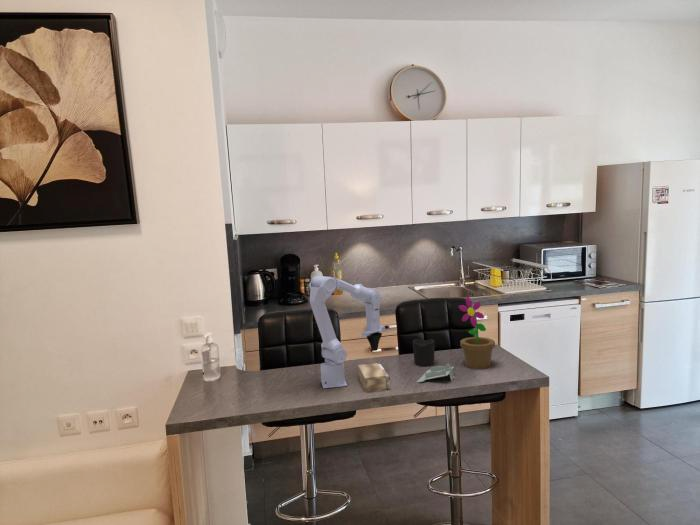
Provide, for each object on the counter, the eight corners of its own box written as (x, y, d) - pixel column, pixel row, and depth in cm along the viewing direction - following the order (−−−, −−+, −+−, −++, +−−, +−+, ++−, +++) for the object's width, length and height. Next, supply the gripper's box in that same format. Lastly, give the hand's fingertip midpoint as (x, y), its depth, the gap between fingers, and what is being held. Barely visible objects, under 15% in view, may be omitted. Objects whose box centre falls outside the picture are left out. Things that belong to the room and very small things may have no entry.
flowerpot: (454, 365, 207) (451, 296, 204) (473, 357, 217) (471, 291, 213) (483, 372, 196) (481, 300, 193) (502, 363, 206) (500, 294, 203)
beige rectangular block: (365, 392, 182) (365, 378, 182) (358, 378, 198) (358, 365, 198) (391, 389, 184) (390, 375, 183) (382, 375, 200) (381, 362, 199)
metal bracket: (455, 360, 197) (446, 371, 184) (460, 373, 197) (451, 386, 183) (423, 366, 203) (412, 378, 190) (428, 380, 203) (417, 392, 190)
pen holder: (422, 368, 206) (421, 345, 205) (409, 362, 214) (408, 340, 213) (439, 363, 211) (438, 341, 209) (426, 358, 219) (425, 337, 218)
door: (382, 381, 192) (382, 369, 191) (378, 375, 199) (377, 363, 199) (385, 381, 192) (384, 369, 191) (380, 375, 199) (380, 363, 199)
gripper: (370, 323, 194) (372, 356, 196) (390, 316, 206) (391, 347, 207) (356, 321, 199) (358, 353, 200) (376, 314, 210) (378, 344, 211)
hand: (374, 350), depth 204 cm, fingers closed
